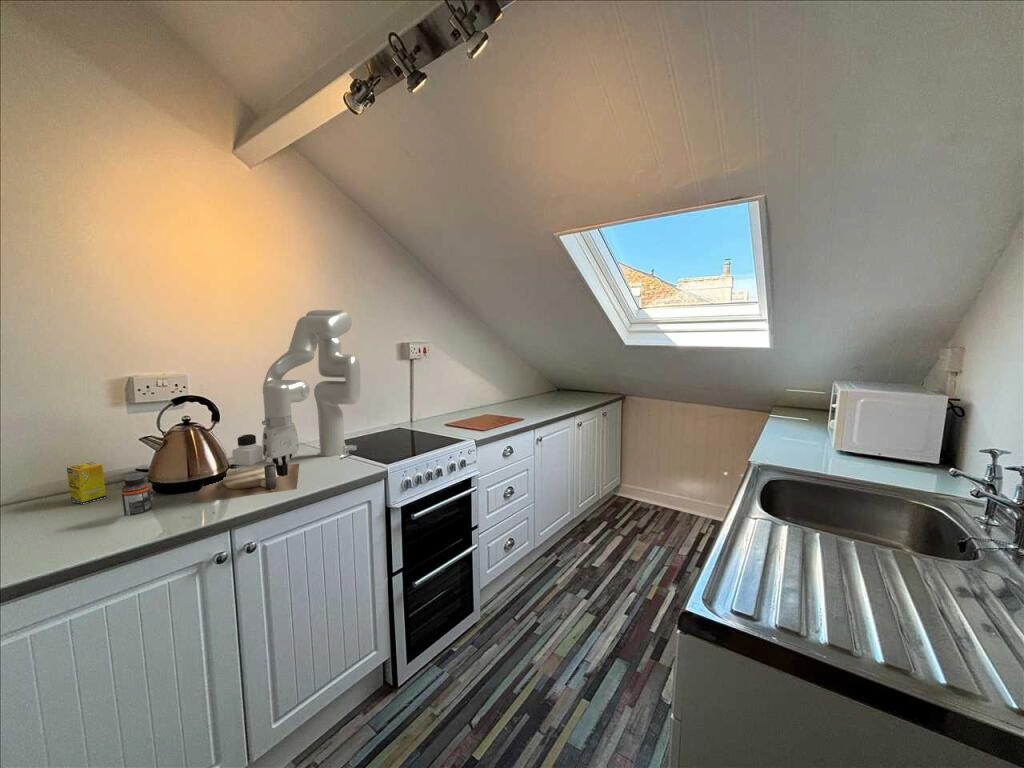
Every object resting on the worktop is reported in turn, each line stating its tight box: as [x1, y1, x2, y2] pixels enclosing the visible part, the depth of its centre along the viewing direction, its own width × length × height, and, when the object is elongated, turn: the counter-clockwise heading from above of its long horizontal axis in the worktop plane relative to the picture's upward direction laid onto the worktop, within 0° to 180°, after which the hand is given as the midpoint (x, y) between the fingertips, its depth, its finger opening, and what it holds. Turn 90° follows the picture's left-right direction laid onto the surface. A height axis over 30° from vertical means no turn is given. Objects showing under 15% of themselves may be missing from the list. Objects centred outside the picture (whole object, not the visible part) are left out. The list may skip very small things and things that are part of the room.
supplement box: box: [66, 461, 107, 505], centre depth 129 cm, size 6×6×11 cm
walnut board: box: [190, 463, 300, 504], centre depth 142 cm, size 28×28×2 cm
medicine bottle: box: [231, 433, 264, 466], centre depth 162 cm, size 7×7×12 cm
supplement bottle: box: [120, 474, 153, 516], centre depth 118 cm, size 6×6×11 cm
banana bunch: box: [223, 463, 279, 489], centre depth 140 cm, size 22×16×7 cm
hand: (282, 475), depth 139 cm, fingers closed
